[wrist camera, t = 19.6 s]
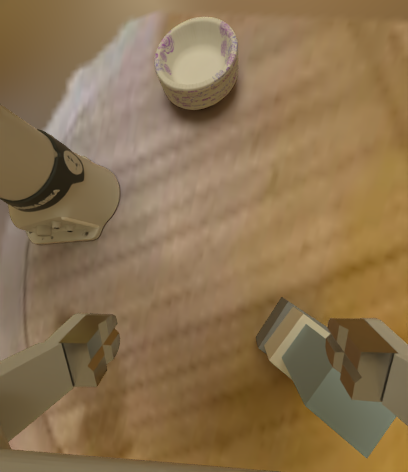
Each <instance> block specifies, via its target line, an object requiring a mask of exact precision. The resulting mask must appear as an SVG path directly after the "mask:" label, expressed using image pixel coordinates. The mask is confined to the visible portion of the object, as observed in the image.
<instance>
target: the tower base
mask: <svg viewBox="0 0 408 472" xmlns="http://www.w3.org/2000/svg"><path fill="white" fill-rule="evenodd" d="M292 307H295V308H296V309H297V310H299V311H300V312H302V313H303V314H305V315H306V316H307V317H309V318H310V319H311V320H313V321H314V322H315V323H317V324H318V325H319V326H321V327H322V328H323V329H325V330H326V331H327V332H328V333H330V334H331V332H330V331H329V330H328V328H327V327H326V326H324V325H323V324H321V323H320V322H318V321H317V320H315V319H314V318H312V317H311V316H309V315H308V314H306V313H305V312H303V311H302V310H300V309H299V308H297V307H296V306H295V305H293V304H292V303H290V302H289V301H287V300H285V299H284V298H282V297H281V299H280V300H279V302H278V304H277V305H276V307H275V308H274V310H273V311H272V313H271V314H270V316H269V317H268V319H267V321H266V322H265V324H264V325H263V327H262V328H261V330H260V331H259V333H258V335H257V336H256V341H257V345H258V348H259V349H260V350H262V351H263V352H264V353H266V350H265V347H264V345H265V344H266V342H267V341H268V340H269V338H270V337H271V336H272V334H273V333H274V331H275V330H276V329H277V327H278V326H279V325H280V323H281V322H282V321H283V319H284V318H285V317H286V315H287V314H288V313H289V311H290V310H291V308H292ZM266 354H267V353H266Z"/></svg>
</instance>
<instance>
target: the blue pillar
mask: <svg viewBox="0 0 408 472" xmlns="http://www.w3.org/2000/svg"><path fill="white" fill-rule="evenodd" d="M325 343H326V338H324V337H323V336H322V335H320V334H319V333H318V332H316V331H315V330H314V329H312V328H311V327H310V326H308V325H307V324H305V326H304V327H303V329H302V330H301V331H300V333H299V334H298V336H297V337H296V338H295V340H294V341H293V342H292V344H291V345H290V347H289V348H288V349H287V351H286V352H285V354H284V355H283V356H282V360H283V362H284V364H285V366H286V368H287V370H288V372H289V374H290V376H291V378H292V380H293V382H294V384H295V386H296V388H297V390H298V392H299V394H300V396H301V398H302V400H303V402H304V404H305V406H306V407H307V408H308V409H310V410H311V411H312V412H313V413H314V414H315V415H317V416H318V417H319V418H320V419H321V420H322V421H324V422H325V423H326V424H327V425H328V426H329V427H331V428H332V429H333V430H334V431H335V432H337V433H338V434H339V435H340V436H341V437H342V438H344V439H345V440H346V441H347V442H348V443H349V444H351V445H352V446H353V447H354V448H355V449H356V450H358V451H359V452H360V453H361V454H362V455H363V456H365V457H366V458H368V456H369V455H370V454H371V452H372V451H373V449H374V448H375V446H376V445H377V444H378V442H379V441H380V439H381V438H382V436H383V435H384V433H385V432H386V431H387V429H388V428H389V426H390V425H391V423H392V422H393V420H394V419H395V418H396V415H394V414H393V413H392V412H391V411H390V410H388V409H387V408H386V407H385V406H384V405H383V404H382V402H372V401H360V400H352V399H351V398H350V396H349V394H348V393H347V391H346V389H345V388H344V386H343V384H342V383H341V381H340V375H341V373H340V372H338V371H337V370H335V369H334V368H333V367H332V365H331V364H330V362H329V360H328V357H327V354H326V348H325Z"/></svg>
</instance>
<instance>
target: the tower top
mask: <svg viewBox="0 0 408 472" xmlns="http://www.w3.org/2000/svg"><path fill="white" fill-rule="evenodd" d="M305 324H307V325H308V326H310V327H311V328H312V329H314V330H315V331H316V332H318V333H319V334H320V335H322V336H323V337H324V338H327V337H328V336H329V335H330V333H328V332H327V331H326V330H325V329H323V328H322V327H321V326H319V325H318V324H317V323H315V322H314V321H313V320H311V319H310V318H309V317H307V316H306V315H305V314H303V313H302V312H300V311H299V310H297V309H296V308H295V307H292V308H291V310H290V311H289V313H288V314H287V315H286V317H285V318H284V319H283V321H282V322H281V323H280V325H279V326H278V327H277V329H276V330H275V331H274V333H273V334H272V336H271V337H270V338H269V340H268V341H267V342H266V344H265V345H264V347H265V350H266V353H267V356H268V359H269V361H270V362H271V363H273V364H274V365H275V366H276V367H277V368H279V369H280V370H281V371H282V372H283V373H284V374H286V375H287V376H288V377H289V378H290V379H292V378H291V376H290V374H289V372H288V370H287V368H286V366H285V364H284V362H283V360H282V356H283V355H284V354H285V352H286V351H287V349H288V348H289V347H290V345H291V344H292V342H293V341H294V340H295V338H296V337H297V336H298V334H299V333H300V331H301V330H302V329H303V327H304V326H305Z"/></svg>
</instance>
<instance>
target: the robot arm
mask: <svg viewBox="0 0 408 472" xmlns="http://www.w3.org/2000/svg"><path fill="white" fill-rule="evenodd" d="M119 196H120V189H119V184H118V181H117V179H116V177H115V176H114V174H113V173H112V172H111V171H110V170H108V169H107V168H105V167H102V166H100V165H97V164H95V163H93V162H92V161H91V160H89V159H88V158H86V157H84V156H80V155H78V154H76V153H74V152H72V151H71V150H70V149H69V148H67V147H66V146H65V145H64V144H62V143H61V142H59V141H58V140H56V139H55V138H54V137H53V136H51V135H49V134H47V133H46V132H44V131H42V130H39V129H35V128H34V127H33V126H31V125H30V124H28V123H27V122H25V121H24V120H23V119H21V118H20V117H18V116H17V115H15V114H14V113H12V112H11V111H9V110H8V109H7V108H5V107H4V106H2V105H1V104H0V199H1V200H3V201H4V202H6V203H7V204H8V208H9V214H10V217H11V220H12V222H13V223H14V225H15V226H16V227H18V228H19V229H22V230H26V233H27V235H28V237H29V239H30V240H31V242H32V243H34V244H51V243H63V242H75V241H88V240H95V239H97V238H98V237H99V236H100V234H101V231H102V229H103V226H104V225H105V223H106V222H107V221H108V220H109V219H110V217H111V216H112V215H113V213H114V212H115V210H116V208H117V205H118V202H119ZM87 233H88V235H87ZM116 325H117V320H116V316H114V315H113V314H92V313H90V314H88V313H77V314H74V315H73V316H72V317H71V318H70V319H69V320H67V321H66V322H65V323H64V324H63V325H62V326H61V327H60V328H59V329H58V330H57V331H55V332H54V333H53V334H52V335H51V336H50V337H49V338H48V339H47V340H46V341H45V342H43V343H38V344H35V345H33V346H31V347H29V348H27V349H25V350H23V351H21V352H19V353H17V354H15V355H13V356H11V357H8V358H6V359H4V360H2V361H0V472H279V471H267V470H254V469H242V468H230V467H218V466H205V465H193V464H181V463H169V462H157V461H145V460H132V459H120V458H108V457H96V456H84V455H72V454H60V453H47V452H35V451H23V450H11V448H10V445H9V443H8V442H9V441H10V440H11V439H13V438H14V437H15V436H16V435H17V434H19V433H20V432H21V431H22V430H23V429H25V428H26V427H27V426H28V425H29V424H31V423H32V422H33V421H34V420H35V419H37V418H38V417H39V416H40V415H41V414H43V413H44V412H45V411H46V410H47V409H49V408H50V407H51V406H52V405H54V404H55V403H56V402H57V401H58V400H60V399H61V398H62V397H63V396H64V395H66V394H67V393H68V392H69V391H70V390H72V389H73V387H97V386H98V384H99V383H100V381H101V379H102V378H103V376H104V374H105V373H106V371H107V364H108V363H109V362H110V361H112V360H113V359H114V358H115V356H116V354H117V352H118V349H119V345H120V336H119V332H118V331H117V330H116V329H115V326H116ZM327 328H328V330H329V331H330V332H331V334H330V335H329V336H328V337H327V338H326V343H325V348H326V354H327V357H328V360H329V362H330V364H331V365H332V367H333V368H334V369H335V370H337V371H338V372H340V373H341V375H340V381H341V383H342V384H343V386H344V388H345V389H346V391H347V393H348V394H349V396H350V398H351V399H352V400H360V401H372V402H382V404H383V405H384V406H385V407H386V408H387V409H388V410H390V411H391V412H392V413H393V414H394V415H396V416H397V417H398V418H399V419H400V420H401V421H403V422H404V423H405V424H406V425H407V426H408V344H407V343H405V342H404V341H403V340H402V339H401V338H400V337H399V336H398V335H396V334H395V333H394V332H393V331H392V330H391V329H390V328H389V327H388V326H386V325H385V324H384V323H383V322H382V321H381V320H379V319H377V318H360V319H341V318H330V320H329V322H328V327H327Z"/></svg>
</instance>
